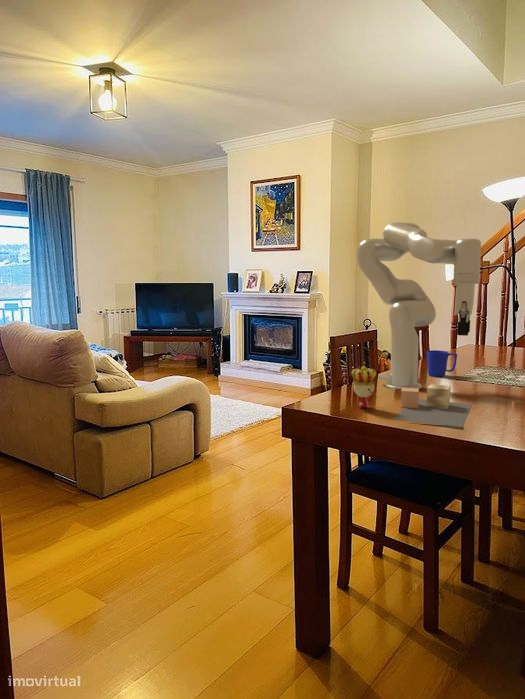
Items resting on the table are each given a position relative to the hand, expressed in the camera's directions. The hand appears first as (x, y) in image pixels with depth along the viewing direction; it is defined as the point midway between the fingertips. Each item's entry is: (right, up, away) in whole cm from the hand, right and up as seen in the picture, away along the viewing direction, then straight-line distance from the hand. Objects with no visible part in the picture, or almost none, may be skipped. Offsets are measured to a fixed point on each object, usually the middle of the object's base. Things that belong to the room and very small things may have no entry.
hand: (463, 333), depth 162 cm
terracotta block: (-19, -22, -5) cm, 29 cm away
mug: (+10, -16, +48) cm, 51 cm away
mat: (-13, -24, -12) cm, 30 cm away
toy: (-33, -24, -7) cm, 41 cm away
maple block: (-10, -22, -6) cm, 25 cm away
